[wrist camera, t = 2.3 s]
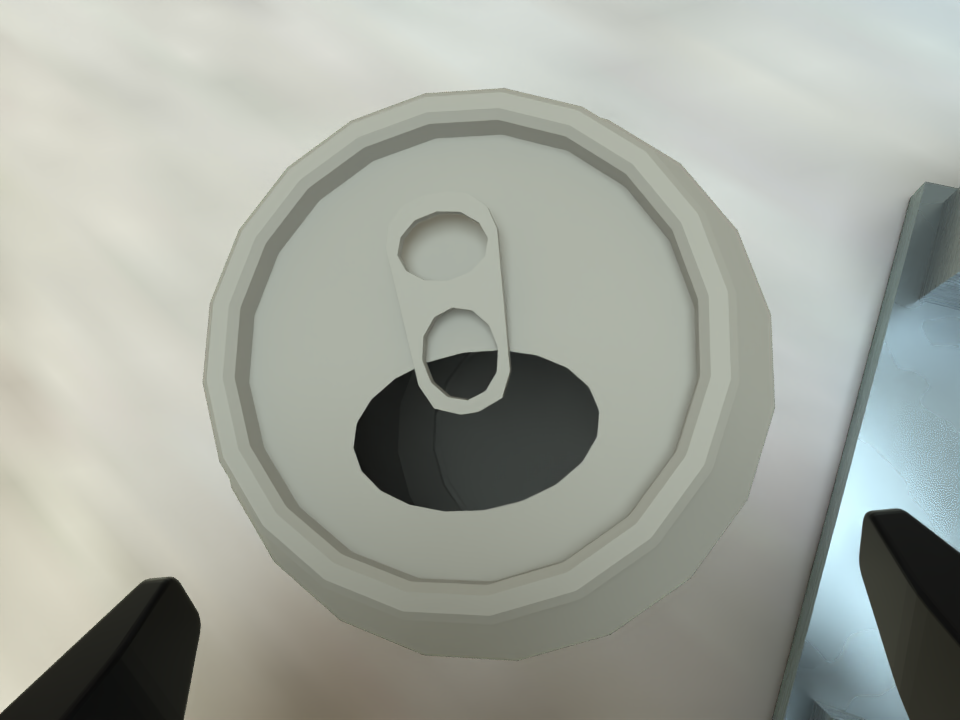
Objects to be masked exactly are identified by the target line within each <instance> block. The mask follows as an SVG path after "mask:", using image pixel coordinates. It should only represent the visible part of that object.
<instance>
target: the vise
mask: <svg viewBox="0 0 960 720" xmlns="http://www.w3.org/2000/svg"><path fill="white" fill-rule="evenodd" d="M892 508H899V509H902V510H905V511H906V512H908V513H909V514H911V515H912V516H913V517H914V518H916V519H917V520H918V521H920V522H921V523H922V524H924V525H925V526H926V527H927V528H929V529H930V530H931V531H933V532H934V533H935V534H936V535H938V536H939V537H940V538H942V539H943V540H944V541H945V542H947V543H948V544H949V545H951V546H952V547H953V548H955V549H956V550H957V551H958V552H960V187H959V188H953V187H948V186H944V185H939V184H935V183H930V182H925V183H924V184H923V185H922V186H921V187H920V188H919V189H918V190H917V191H916V192H915V193H914V195H913V196H912V197H911V198H910V202H909V206H908V210H907V213H906V217H905V221H904V225H903V228H902V232H901V236H900V240H899V243H898V247H897V251H896V255H895V259H894V262H893V266H892V270H891V274H890V277H889V281H888V285H887V289H886V293H885V296H884V300H883V304H882V308H881V311H880V315H879V319H878V323H877V326H876V330H875V334H874V338H873V342H872V345H871V349H870V353H869V357H868V360H867V364H866V368H865V372H864V376H863V379H862V383H861V387H860V391H859V394H858V398H857V402H856V406H855V409H854V413H853V417H852V421H851V425H850V428H849V432H848V436H847V440H846V443H845V447H844V451H843V455H842V459H841V462H840V466H839V470H838V474H837V477H836V481H835V485H834V489H833V493H832V496H831V500H830V504H829V508H828V511H827V515H826V519H825V523H824V526H823V530H822V534H821V538H820V542H819V545H818V549H817V553H816V557H815V560H814V564H813V568H812V572H811V576H810V579H809V583H808V587H807V591H806V594H805V598H804V602H803V606H802V609H801V613H800V617H799V621H798V625H797V628H796V632H795V636H794V640H793V643H792V647H791V651H790V655H789V659H788V662H787V666H786V670H785V674H784V677H783V681H782V685H781V689H780V692H779V696H778V700H777V704H776V708H775V711H774V715H773V719H772V720H909V717H908V715H907V713H906V710H905V708H904V705H903V703H902V701H901V698H900V696H899V693H898V690H897V687H896V684H895V681H894V678H893V675H892V672H891V669H890V665H889V662H888V659H887V656H886V653H885V649H884V646H883V643H882V640H881V637H880V633H879V630H878V627H877V624H876V621H875V617H874V614H873V611H872V608H871V605H870V601H869V598H868V595H867V592H866V589H865V585H864V582H863V579H862V575H861V571H860V566H859V550H860V542H861V533H862V524H863V518H864V515H865V514H866V513H867V512H868V511H871V510H882V509H892Z"/></svg>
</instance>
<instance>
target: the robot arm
mask: <svg viewBox="0 0 960 720" xmlns="http://www.w3.org/2000/svg"><path fill="white" fill-rule="evenodd" d="M859 566H860V571H861V575H862V579H863V582H864V585H865V589H866V592H867V595H868V598H869V601H870V605H871V608H872V611H873V614H874V617H875V621H876V624H877V627H878V630H879V633H880V637H881V640H882V643H883V646H884V649H885V653H886V656H887V659H888V662H889V665H890V669H891V672H892V675H893V678H894V681H895V684H896V687H897V690H898V693H899V696H900V698H901V701H902V703H903V705H904V708H905V710H906V713H907V715H908V717H909V720H960V552H958V551H957V550H956V549H955V548H953V547H952V546H951V545H949V544H948V543H947V542H945V541H944V540H943V539H942V538H940V537H939V536H938V535H936V534H935V533H934V532H933V531H931V530H930V529H929V528H927V527H926V526H925V525H924V524H922V523H921V522H920V521H918V520H917V519H916V518H914V517H913V516H912V515H911V514H909V513H908V512H906V511H905V510H902V509H899V508H892V509H882V510H871V511H868V512H867V513H866V514H865V515H864V518H863V524H862V533H861V542H860V550H859ZM200 627H201V623H200V617H199V614H198V612H197V610H196V608H195V606H194V605H193V603H192V601H191V600H190V598H189V596H188V595H187V593H186V592H185V590H184V588H183V587H182V585H181V583H180V582H179V581H178V580H177V579H175V578H174V577H162V578H151V579H147V580H145V581H143V582H141V583H140V584H139V585H138V586H137V587H136V588H135V589H134V590H132V591H131V592H130V593H129V594H128V595H127V596H126V597H125V598H124V599H123V600H122V601H121V602H120V603H119V604H117V605H116V606H115V607H114V608H113V609H112V610H111V611H110V612H109V613H108V614H107V615H106V616H105V617H103V618H102V619H101V620H100V621H99V622H98V623H97V624H96V625H95V626H94V627H93V628H92V629H91V630H90V631H88V632H87V633H86V634H85V635H84V636H83V637H82V638H81V639H80V640H79V641H78V642H77V643H76V644H75V645H73V646H72V647H71V648H70V649H69V650H68V651H67V652H66V653H65V654H64V655H63V656H62V657H61V658H60V659H58V660H57V661H56V662H55V663H54V664H53V665H52V666H51V667H50V668H49V669H48V670H47V671H46V672H44V673H43V674H42V675H41V676H40V677H39V678H38V679H37V680H36V681H35V682H34V683H33V684H32V685H31V686H29V687H28V688H27V689H26V690H25V691H24V692H23V693H22V694H21V695H20V696H19V697H18V698H17V699H16V700H14V701H13V702H12V703H11V704H10V705H9V706H8V707H7V708H6V709H5V710H4V711H3V712H2V713H1V714H0V720H184V715H185V710H186V705H187V699H188V694H189V689H190V683H191V678H192V673H193V667H194V662H195V657H196V651H197V646H198V641H199V635H200Z"/></svg>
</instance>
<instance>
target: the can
mask: <svg viewBox="0 0 960 720" xmlns="http://www.w3.org/2000/svg"><path fill="white" fill-rule="evenodd" d="M203 387H204V391H205V396H206V401H207V405H208V410H209V415H210V419H211V424H212V429H213V433H214V438H215V443H216V447H217V452H218V457H219V461H220V463H221V465H222V467H223V468H224V470H225V472H226V473H227V475H228V477H229V479H230V483H231V487H232V489H233V491H234V493H235V495H236V496H237V498H238V500H239V502H240V503H241V505H242V507H243V508H244V510H245V512H246V514H247V515H248V517H249V519H250V521H251V522H252V524H253V526H254V527H255V529H256V531H257V533H258V534H259V536H260V538H261V540H262V541H263V543H264V545H265V547H266V548H267V550H268V552H269V553H270V555H271V557H272V559H273V560H274V562H275V563H276V564H277V565H278V566H280V567H281V568H282V569H283V570H284V571H285V572H286V573H287V574H289V575H290V576H291V577H292V578H293V579H294V580H295V581H296V582H298V583H299V584H300V585H301V586H302V587H303V588H304V589H305V590H307V591H308V592H309V593H310V594H311V595H312V596H313V597H315V598H316V599H317V600H318V601H319V602H320V603H321V604H322V605H324V606H325V607H326V608H327V609H328V610H329V611H330V612H331V613H333V614H334V615H335V616H336V617H337V618H338V619H339V620H341V621H343V622H345V623H348V624H350V625H353V626H355V627H358V628H360V629H362V630H365V631H367V632H370V633H372V634H374V635H377V636H379V637H382V638H384V639H386V640H389V641H391V642H394V643H396V644H398V645H401V646H403V647H406V648H408V649H410V650H413V651H415V652H418V653H420V654H422V655H429V656H445V657H462V658H479V659H495V660H512V661H519V660H522V659H526V658H529V657H533V656H537V655H540V654H544V653H547V652H551V651H554V650H558V649H561V648H565V647H568V646H572V645H575V644H579V643H583V642H586V641H590V640H593V639H597V638H600V637H604V636H607V635H610V634H612V633H613V632H615V631H616V630H618V629H619V628H620V627H622V626H623V625H625V624H626V623H628V622H629V621H630V620H632V619H633V618H635V617H636V616H638V615H639V614H640V613H642V612H643V611H645V610H646V609H648V608H649V607H650V606H652V605H653V604H655V603H656V602H658V601H659V600H661V599H662V598H663V597H665V596H666V595H668V594H669V593H671V592H672V591H673V590H675V589H676V588H678V587H679V586H681V585H682V584H683V583H685V582H686V581H688V580H689V579H690V578H691V577H692V575H693V574H694V573H695V571H696V570H697V569H698V567H699V566H700V564H701V563H702V562H703V560H704V559H705V558H706V556H707V555H708V553H709V552H710V551H711V549H712V548H713V546H714V545H715V544H716V542H717V541H718V540H719V538H720V537H721V535H722V534H723V533H724V531H725V530H726V529H727V527H728V526H729V524H730V523H731V522H732V520H733V519H734V517H735V516H736V515H737V513H738V512H739V511H740V509H741V508H742V506H743V505H744V504H745V502H746V501H747V499H748V496H749V492H750V489H751V486H752V482H753V479H754V476H755V472H756V469H757V466H758V462H759V459H760V456H761V453H762V449H763V446H764V443H765V439H766V436H767V433H768V429H769V426H770V423H771V419H772V416H773V413H774V409H775V399H774V375H773V351H772V328H771V314H770V311H769V309H768V306H767V303H766V301H765V298H764V296H763V293H762V291H761V288H760V286H759V283H758V281H757V278H756V276H755V273H754V271H753V268H752V265H751V263H750V260H749V258H748V255H747V253H746V250H745V248H744V245H743V243H742V240H741V238H740V235H739V233H738V230H737V229H736V228H735V227H734V226H733V224H732V223H731V222H730V221H729V220H728V219H727V217H726V216H725V215H724V214H723V213H722V212H721V210H720V209H719V208H718V207H717V206H716V204H715V203H714V202H713V201H712V200H711V199H710V197H709V196H708V195H707V194H706V193H705V192H704V190H703V189H702V188H701V187H700V186H699V185H698V183H697V182H696V181H695V180H694V179H693V177H692V176H691V175H690V174H689V173H688V172H687V170H686V169H685V168H684V167H683V166H682V165H681V164H680V163H679V162H677V161H675V160H674V159H672V158H670V157H669V156H667V155H665V154H664V153H662V152H660V151H659V150H657V149H656V148H654V147H652V146H651V145H649V144H647V143H646V142H644V141H642V140H641V139H639V138H637V137H636V136H634V135H632V134H631V133H629V132H627V131H626V130H624V129H623V128H621V127H619V126H618V125H616V124H614V123H613V122H611V121H609V120H607V119H603V118H600V117H598V116H597V115H595V114H593V113H592V112H590V111H588V110H587V109H585V108H583V107H581V106H577V105H573V104H569V103H564V102H560V101H556V100H552V99H547V98H543V97H539V96H535V95H531V94H526V93H522V92H518V91H514V90H510V89H505V88H500V89H485V90H470V91H455V92H440V93H425V94H422V95H420V96H417V97H414V98H411V99H409V100H406V101H403V102H401V103H398V104H395V105H392V106H390V107H387V108H384V109H382V110H379V111H376V112H374V113H371V114H368V115H365V116H363V117H360V118H357V119H355V120H352V121H350V122H349V123H347V124H346V125H345V126H343V127H342V128H341V129H339V130H338V131H336V132H335V133H334V134H332V135H331V136H330V137H328V138H327V139H326V140H324V141H323V142H321V143H320V144H319V145H317V146H316V147H315V148H313V149H312V150H311V151H309V152H308V153H307V154H305V155H304V156H302V157H301V158H300V159H298V160H297V161H296V162H294V163H293V164H292V165H290V166H289V167H287V169H286V170H285V171H284V173H283V174H282V175H281V176H280V178H279V179H278V180H277V182H276V183H275V184H274V185H273V187H272V188H271V189H270V191H269V192H268V193H267V195H266V196H265V197H264V198H263V200H262V201H261V202H260V204H259V205H258V206H257V207H256V209H255V210H254V211H253V213H252V214H251V215H250V216H249V218H248V219H247V220H246V222H245V223H244V224H243V226H242V227H241V228H240V229H239V231H238V234H237V236H236V239H235V241H234V244H233V246H232V249H231V251H230V254H229V256H228V259H227V261H226V264H225V267H224V269H223V272H222V274H221V277H220V279H219V282H218V284H217V287H216V289H215V292H214V294H213V297H212V299H211V302H210V307H209V318H208V329H207V340H206V351H205V362H204V373H203Z"/></svg>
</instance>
